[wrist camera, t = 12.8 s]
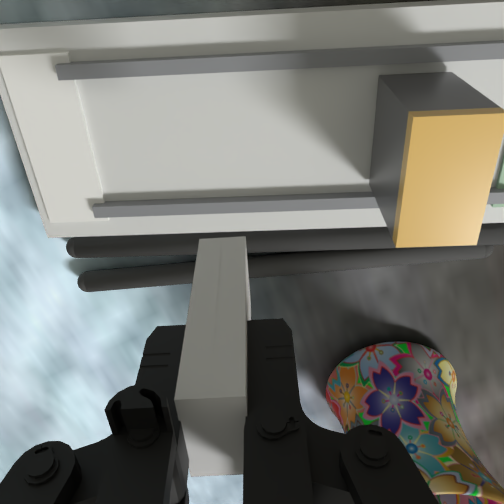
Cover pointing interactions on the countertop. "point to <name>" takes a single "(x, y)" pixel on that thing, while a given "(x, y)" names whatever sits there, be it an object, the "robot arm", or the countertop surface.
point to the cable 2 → (281, 265)
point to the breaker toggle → (433, 158)
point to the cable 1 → (253, 241)
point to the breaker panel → (227, 112)
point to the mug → (413, 415)
